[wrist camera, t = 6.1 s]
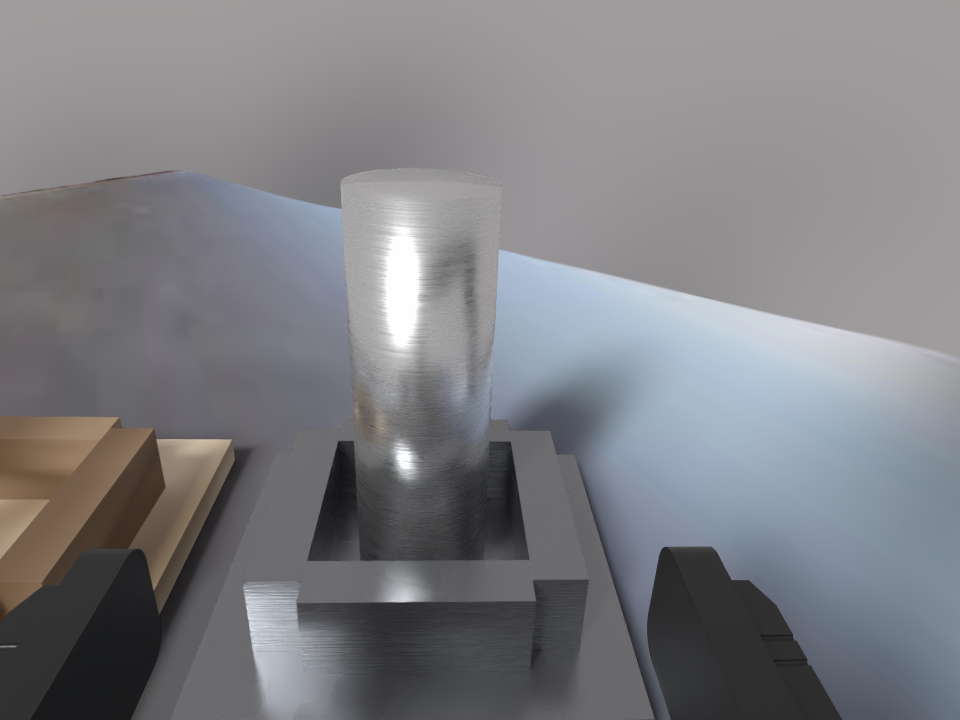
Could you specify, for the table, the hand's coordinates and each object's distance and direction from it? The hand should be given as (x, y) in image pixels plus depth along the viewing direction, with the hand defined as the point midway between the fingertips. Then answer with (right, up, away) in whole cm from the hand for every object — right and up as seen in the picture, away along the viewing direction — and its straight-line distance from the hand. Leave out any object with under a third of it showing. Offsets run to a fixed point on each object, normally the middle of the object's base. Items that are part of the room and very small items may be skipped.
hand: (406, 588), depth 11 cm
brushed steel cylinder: (-1, -3, +12) cm, 12 cm away
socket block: (-1, -4, +12) cm, 13 cm away
